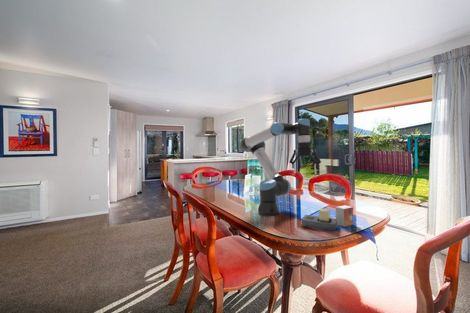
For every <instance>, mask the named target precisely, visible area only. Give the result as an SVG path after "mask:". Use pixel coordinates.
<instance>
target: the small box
mask: <svg viewBox="0 0 470 313" xmlns="http://www.w3.org/2000/svg"><path fill="white" fill-rule="evenodd" d="M335 219H337V226H340V227H344V228H345V227H349V226H353V225H354V207H353V206H350V205H349V206H348V205H346V204H344V205H339V206H335Z"/></svg>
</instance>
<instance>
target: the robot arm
mask: <svg viewBox="0 0 470 313" xmlns="http://www.w3.org/2000/svg"><path fill="white" fill-rule="evenodd" d="M281 135H285V136H290V135H298V136H297V137H298V149H293V154H292V156H291V157H290V160H289V164H291V165H292V166H291V168H292V169H293V174H296V173H297V166H296V163H297V161H299V159H300V158H301V157H309V158H310V159H311V160H312V161H313V162H314V167H313V168H314V175H317V174H318V172H317V170H318V169H319V164H321V163H322V161H321V159H320V157H319V156H318V153H317V150H316V148H313V149H311V121H310V119H309V118H299V119H297V122H294V123H290V122H289V123H288V122H287V123H286V122H280V121H279V122H273V123H272V124H271V125H270V126H269V127H268V128H266V129H263V130H262V131H260V132H258V133H255V134H254V135H250V136H246V137H244V138H242V139H241V141H240V143H239V145H240V149H241V150H242V151H243V152H245V153H251V154H252V155H253V157H256V159H257V161H258V162H259V164H260V166H261V168H262V169H263V171H264V173H265V175H266V176H267V179H263V180H261V181H260V182H259V205H258V209H257V214H258V213H259V214H258V215H260V216H265V217H274V216H278V215H279V214H280V208H279V206H278V203H277V197H281V196H285V195H287V194H289V193H290V192H291V187H292V186H291V183H290V181H289V180H288V179H286V178H284V177H283V175H282V174H279V172H278V171H277V169H276V167H275V165H274V164H273V162H272V160H271V159H270V157H269V156H268V154H267V152H266V141H268V140H270V139H273V138H275V137H277V136H281ZM311 152H312V153H313V155H314V156H313V155H312V154H311ZM297 153H298V155H297ZM296 155H297V156H296ZM314 157H315V158H314Z"/></svg>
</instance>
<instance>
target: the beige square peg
mask: <svg viewBox="0 0 470 313" xmlns="http://www.w3.org/2000/svg"><path fill="white" fill-rule="evenodd" d="M330 214H331V210H330V208H321V207H320V208H319V210H318V217H319V221H320V222H327V223H330V218H331V215H330Z"/></svg>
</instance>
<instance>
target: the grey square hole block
mask: <svg viewBox="0 0 470 313" xmlns="http://www.w3.org/2000/svg"><path fill="white" fill-rule="evenodd" d="M300 222H301V224H300V225H301V227H304V228H309V229H316V230H323V231H328V232H335V233H336V230H337V228H338V225H337V219H336V218H331V217H330V223H327V222H320V221H319V215H318V216H317V215H309V214H304V215H303V217H302V218H301V221H300Z"/></svg>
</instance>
